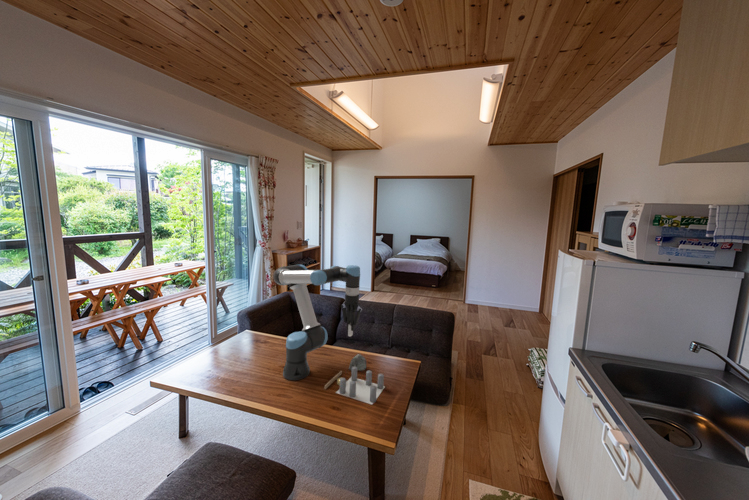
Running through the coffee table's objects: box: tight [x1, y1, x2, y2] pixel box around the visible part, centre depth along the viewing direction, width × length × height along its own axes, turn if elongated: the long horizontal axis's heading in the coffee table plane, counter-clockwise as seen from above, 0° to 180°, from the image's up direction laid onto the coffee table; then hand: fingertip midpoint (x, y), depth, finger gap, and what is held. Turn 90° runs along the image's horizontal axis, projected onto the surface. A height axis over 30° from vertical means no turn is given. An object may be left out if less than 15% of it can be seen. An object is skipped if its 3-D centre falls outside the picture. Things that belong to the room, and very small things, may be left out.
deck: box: [323, 367, 386, 405], centre depth 153 cm, size 29×17×8 cm, turn 66°
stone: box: [348, 353, 368, 372], centre depth 174 cm, size 10×10×10 cm
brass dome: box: [336, 376, 344, 387], centre depth 157 cm, size 4×4×2 cm
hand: (350, 335), depth 158 cm, fingers closed
